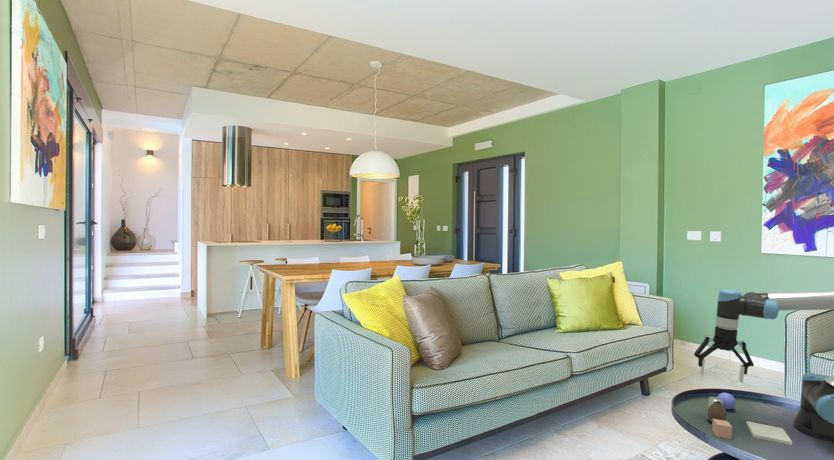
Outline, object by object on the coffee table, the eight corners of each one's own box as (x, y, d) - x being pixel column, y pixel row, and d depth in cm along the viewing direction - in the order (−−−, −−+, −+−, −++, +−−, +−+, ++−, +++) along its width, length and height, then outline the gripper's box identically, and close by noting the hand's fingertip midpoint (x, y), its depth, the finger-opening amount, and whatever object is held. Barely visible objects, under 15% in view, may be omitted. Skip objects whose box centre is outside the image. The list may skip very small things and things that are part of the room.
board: (782, 431, 178) (782, 428, 178) (792, 445, 167) (792, 442, 167) (746, 423, 183) (746, 421, 183) (753, 437, 173) (753, 434, 173)
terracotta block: (726, 433, 175) (727, 420, 175) (731, 439, 171) (732, 426, 170) (711, 430, 177) (712, 418, 177) (716, 437, 172) (717, 424, 172)
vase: (729, 427, 180) (731, 406, 179) (711, 425, 181) (712, 404, 180) (721, 419, 186) (723, 399, 186) (703, 417, 188) (705, 397, 187)
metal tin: (720, 411, 194) (721, 398, 194) (722, 416, 190) (723, 402, 189) (707, 408, 196) (708, 395, 196) (709, 413, 192) (710, 400, 192)
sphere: (730, 413, 192) (731, 398, 192) (712, 406, 199) (714, 391, 198) (738, 410, 196) (739, 395, 195) (721, 403, 202) (722, 389, 202)
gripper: (761, 330, 179) (755, 381, 181) (689, 320, 189) (684, 368, 191) (766, 335, 172) (760, 387, 174) (692, 324, 183) (687, 374, 184)
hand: (721, 377), depth 182 cm, fingers open, 13 cm apart
